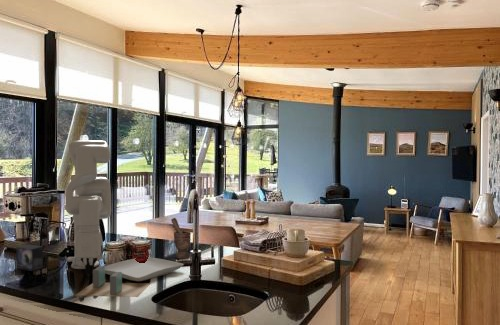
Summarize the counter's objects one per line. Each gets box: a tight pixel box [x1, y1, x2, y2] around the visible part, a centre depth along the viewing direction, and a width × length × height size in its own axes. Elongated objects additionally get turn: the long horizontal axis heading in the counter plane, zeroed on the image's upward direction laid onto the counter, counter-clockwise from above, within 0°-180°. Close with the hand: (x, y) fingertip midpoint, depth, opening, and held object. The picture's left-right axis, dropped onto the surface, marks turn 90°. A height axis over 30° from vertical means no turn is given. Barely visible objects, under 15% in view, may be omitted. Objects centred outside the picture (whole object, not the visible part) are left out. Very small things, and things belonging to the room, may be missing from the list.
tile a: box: [92, 265, 106, 288], centre depth 167 cm, size 2×6×7 cm, turn 176°
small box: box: [15, 244, 44, 272], centre depth 195 cm, size 11×6×10 cm, turn 68°
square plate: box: [103, 256, 185, 282], centre depth 186 cm, size 27×27×4 cm
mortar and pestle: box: [170, 217, 192, 260], centre depth 216 cm, size 12×9×20 cm
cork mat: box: [74, 282, 152, 298], centre depth 163 cm, size 24×16×1 cm, turn 86°
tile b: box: [109, 272, 123, 295], centre depth 159 cm, size 2×6×7 cm, turn 176°
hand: (89, 274), depth 168 cm, fingers closed
